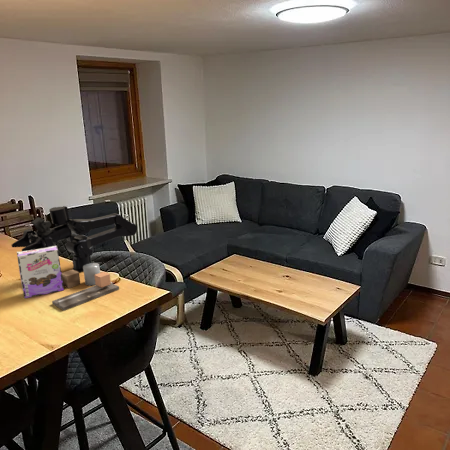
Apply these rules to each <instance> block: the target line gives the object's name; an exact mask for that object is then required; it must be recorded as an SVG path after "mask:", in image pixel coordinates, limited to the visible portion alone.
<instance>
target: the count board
mask: <svg viewBox="0 0 450 450" xmlns="http://www.w3.org/2000/svg"><path fill="white" fill-rule="evenodd" d="M119 290H120V286H119V285H117V284H115V283H113V281H111V284H110V285H107V286H104V287H102V288H101V287H99V286H97V285H92V286H90V287H87V288H84V289H82V290H79V291H76V292H73V293H71V294H69V295H67V294H66V295H65V296H63V297H60V298H57V299H55V300H52V301H51V302H52V305H53V306H55V307H57V308H58V309H60V310H62V311H66V310H67V311H68V310H70V309H73V308H74V307H77V306H79V305H82V304H85V303H88V302H90V301H92V300H95V299H98V298H101V297H103V296H106V295H108V294H111V293H114V292H116V291H119Z"/></svg>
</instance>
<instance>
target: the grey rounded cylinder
mask: <svg viewBox="0 0 450 450" xmlns="http://www.w3.org/2000/svg"><path fill="white" fill-rule="evenodd" d="M82 272H83V277H84V284H85V286H90V287H92V286H95V285H96V284H95V276H94V275H95V274H98V273H101V269H100V264H99V263H98V262H91V263H89V264H86V265H84V266H83V271H82Z"/></svg>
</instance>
